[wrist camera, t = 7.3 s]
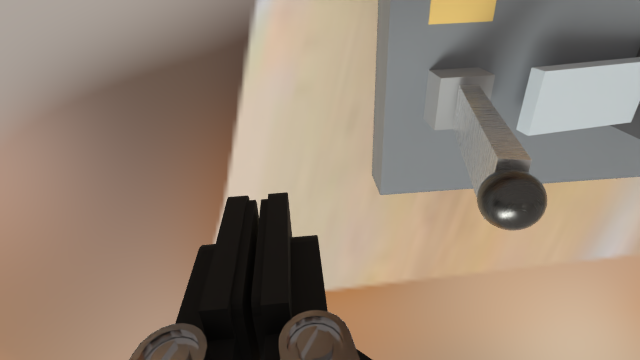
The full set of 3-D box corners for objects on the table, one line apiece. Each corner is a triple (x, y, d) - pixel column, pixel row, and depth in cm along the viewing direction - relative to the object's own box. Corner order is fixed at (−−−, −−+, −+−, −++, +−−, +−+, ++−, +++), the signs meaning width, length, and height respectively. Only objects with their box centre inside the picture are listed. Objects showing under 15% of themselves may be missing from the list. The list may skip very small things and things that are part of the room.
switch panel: (799, -55, 22) (942, -64, 17) (690, 152, 29) (770, 187, 24) (379, -36, 21) (406, -40, 16) (371, 174, 28) (388, 215, 23)
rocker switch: (639, 56, 20) (656, 60, 20) (615, 116, 22) (631, 122, 21) (531, 67, 19) (545, 71, 18) (516, 129, 21) (528, 135, 20)
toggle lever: (488, 85, 19) (568, 185, 10) (480, 127, 20) (545, 251, 11) (449, 84, 19) (491, 180, 10) (443, 126, 20) (476, 245, 11)
